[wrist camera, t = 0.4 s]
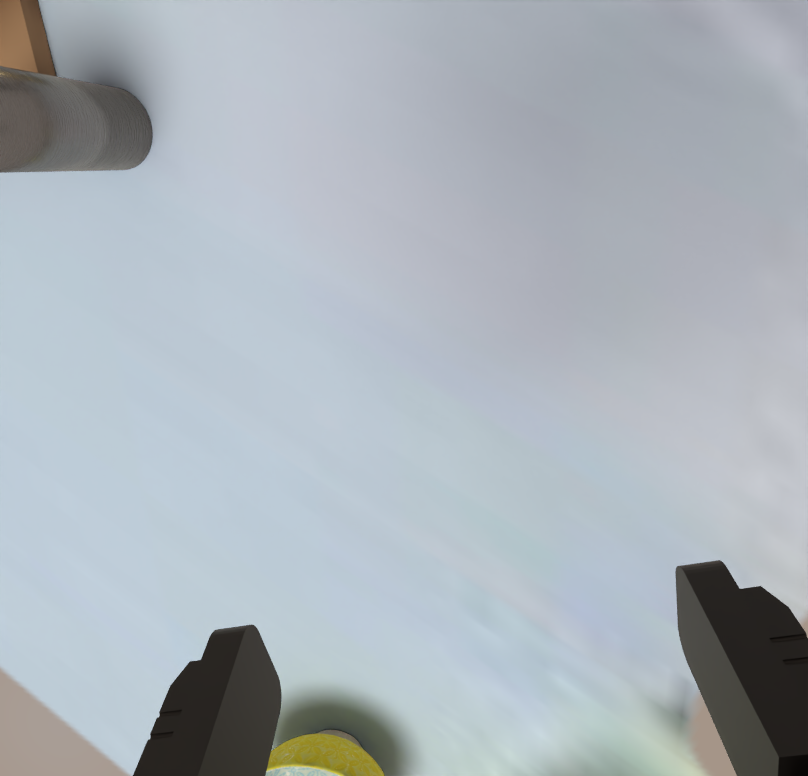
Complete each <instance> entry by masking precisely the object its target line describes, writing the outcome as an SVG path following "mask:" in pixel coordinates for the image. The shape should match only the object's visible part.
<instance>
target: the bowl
mask: <svg viewBox="0 0 808 776" xmlns="http://www.w3.org/2000/svg"><path fill="white" fill-rule="evenodd" d="M265 776H385V775H384V773H383V771H382V770H381V768H380V767H379V766H378V764H377V763H376V761H375V760H374V759H373V758H372V757H371V756H370V755H369V754H368V753H367V752H366V751H365V750H363V749H362V747H361V745H360V744H359V742H358V741H357V740H356V739H355V738H354V737H352V736H351V735H349V734H347V733H345V732H342V731H338V730H324V731H321V732H318V733H317V734H307V735H302V736H299V737H296V738H293V739H290V740H288V741H286V742H284V743H283V744H281V745H279V746H278V747H277V748H275V749H274V750H272V751H271V753H270V758H269V762H268V766H267V771H266V775H265Z"/></svg>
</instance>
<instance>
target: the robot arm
mask: <svg viewBox="0 0 808 776" xmlns="http://www.w3.org/2000/svg"><path fill="white" fill-rule="evenodd" d="M676 593H677V615H678V630H679V636H680V641H681V645H682V648H683V652H684V655H685V657H686V660H687V663H688V665H689V667H690V670H691V672H692V674H693V676H694V679H695V681H696V683H697V686H698V688H699V690H700V692H701V695H702V697H703V699H704V701H705V704H706V706H707V708H708V711H709V713H710V715H711V717H712V719H713V722H714V724H715V726H716V729H717V731H718V733H719V735H720V738H721V740H722V742H723V745H724V747H725V749H726V751H727V754H728V756H729V758H730V761H731V763H732V765H733V767H734V770H735V772H736V774H737V776H808V638H807V636H806V632H805V631H804V629H803V628H802V626H801V625H800V623H799V622H798V621H797V619H796V618H795V616H794V615H793V613H792V612H791V610H790V609H789V607H788V606H786V605H785V604H784V603H782V602H781V601H780V600H778V599H777V598H776V597H774V596H773V595H772V594H770V593H769V592H768V591H766V590H765V589H764V588H762V587H761V586H759V587H751V588H744V589H739V587H738V585H737V584H736V582H735V580H734V579H733V577H732V575H731V574H730V572H729V570H728V569H727V567H726V566H725V564H724V563H723V562H722V561H720V560H718V561H711V562H704V563H697V564H690V565H683V566H677V568H676ZM280 709H281V686H280V681H279V677H278V675H277V672H276V670H275V668H274V665H273V663H272V661H271V659H270V656H269V654H268V652H267V649H266V647H265V645H264V643H263V640H262V638H261V636H260V633H259V631H258V629H257V628H256V627H255V626H254V625H246V626H239V627H232V628H225V629H218V630H215V631H214V632H213V633H212V634H211V636H210V638H209V641H208V643H207V646H206V648H205V651H204V654H203V656H202V659H201V660H199V661H191V662H189V663H188V665H187V666H186V667H185V668H184V670H183V671H182V672H181V673H180V675H179V676H178V677H177V678H176V680H175V681H174V682H173V683H172V685H171V686H170V688H169V690H168V693H167V695H166V698H165V700H164V702H163V705H162V707H161V710H160V712H159V713H160V717H159V718H157V719H156V722H155V724H154V727H153V729H152V731H151V734H150V735H151V738H150V740H148V741H147V743H146V746H145V748H144V751H143V753H142V755H141V758H140V760H139V763H138V765H137V767H136V770H135V772H134V775H133V776H265V775H266V771H267V766H268V762H269V758H270V753H271V749H272V745H273V740H274V736H275V731H276V727H277V723H278V718H279V714H280Z"/></svg>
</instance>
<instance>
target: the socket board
mask: <svg viewBox="0 0 808 776" xmlns="http://www.w3.org/2000/svg"><path fill="white" fill-rule="evenodd" d="M0 66H4V67H9V68H14V69H20V70H25V71H30V72H35V73H41V74H46V75H51V76H56V74H55V70H54V66H53V62H52V58H51V54H50V50H49V46H48V42H47V38H46V33H45V29H44V25H43V21H42V17H41V13H40V9H39V5H38V1H37V0H0Z"/></svg>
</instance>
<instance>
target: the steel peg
mask: <svg viewBox="0 0 808 776" xmlns="http://www.w3.org/2000/svg"><path fill="white" fill-rule="evenodd" d="M151 143H152V126H151V122H150V119H149V116H148V114H147V112H146V110H145V108H144V107H143V105H142V104H141V103H140V101H139V100H138V99H137V98H136V97H135V96H133V95H132V94H130V93H129V92H127V91H125V90H123V89H119V88H115V87H110V86H104V85H99V84H94V83H89V82H83V81H78V80H73V79H67V78H62V77H57V76H51V75H46V74H41V73H35V72H30V71H25V70H20V69H14V68H9V67H4V66H0V172H52V171H103V170H128V169H131V168H134V167H136V166H138V165H139V164H140V163H141V162H142V161H143V160H144V159H145V158H146V156H147V155H148V153H149V150H150V148H151Z"/></svg>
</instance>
